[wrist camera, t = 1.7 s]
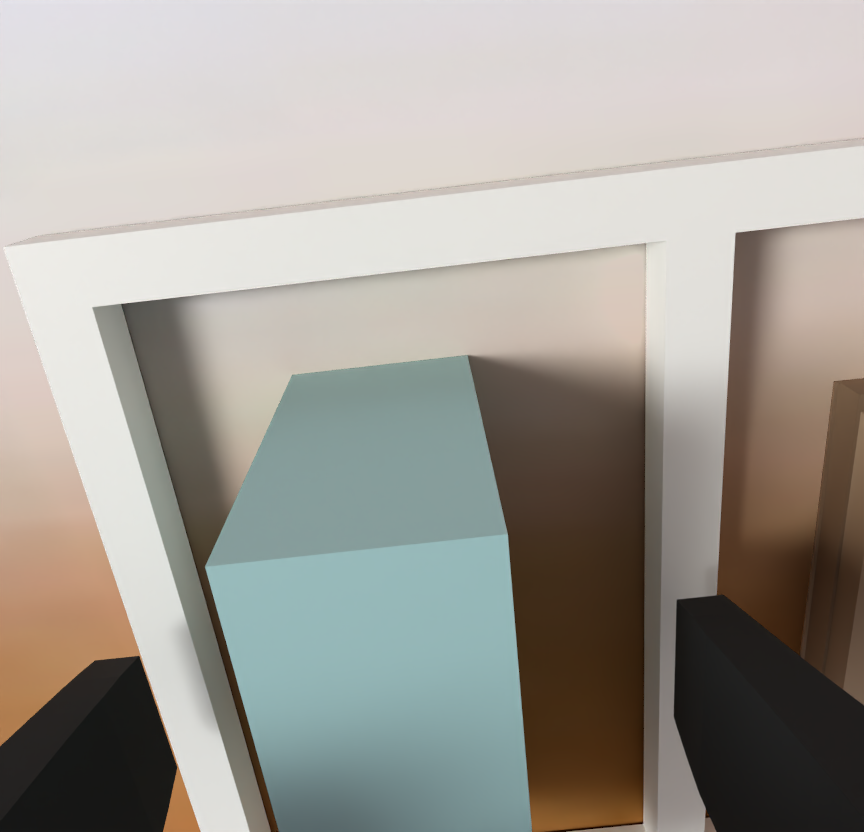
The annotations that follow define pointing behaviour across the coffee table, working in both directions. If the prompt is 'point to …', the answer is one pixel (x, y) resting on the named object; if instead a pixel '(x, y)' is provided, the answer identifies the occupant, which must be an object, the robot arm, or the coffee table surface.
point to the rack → (394, 252)
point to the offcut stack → (839, 549)
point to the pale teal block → (377, 607)
